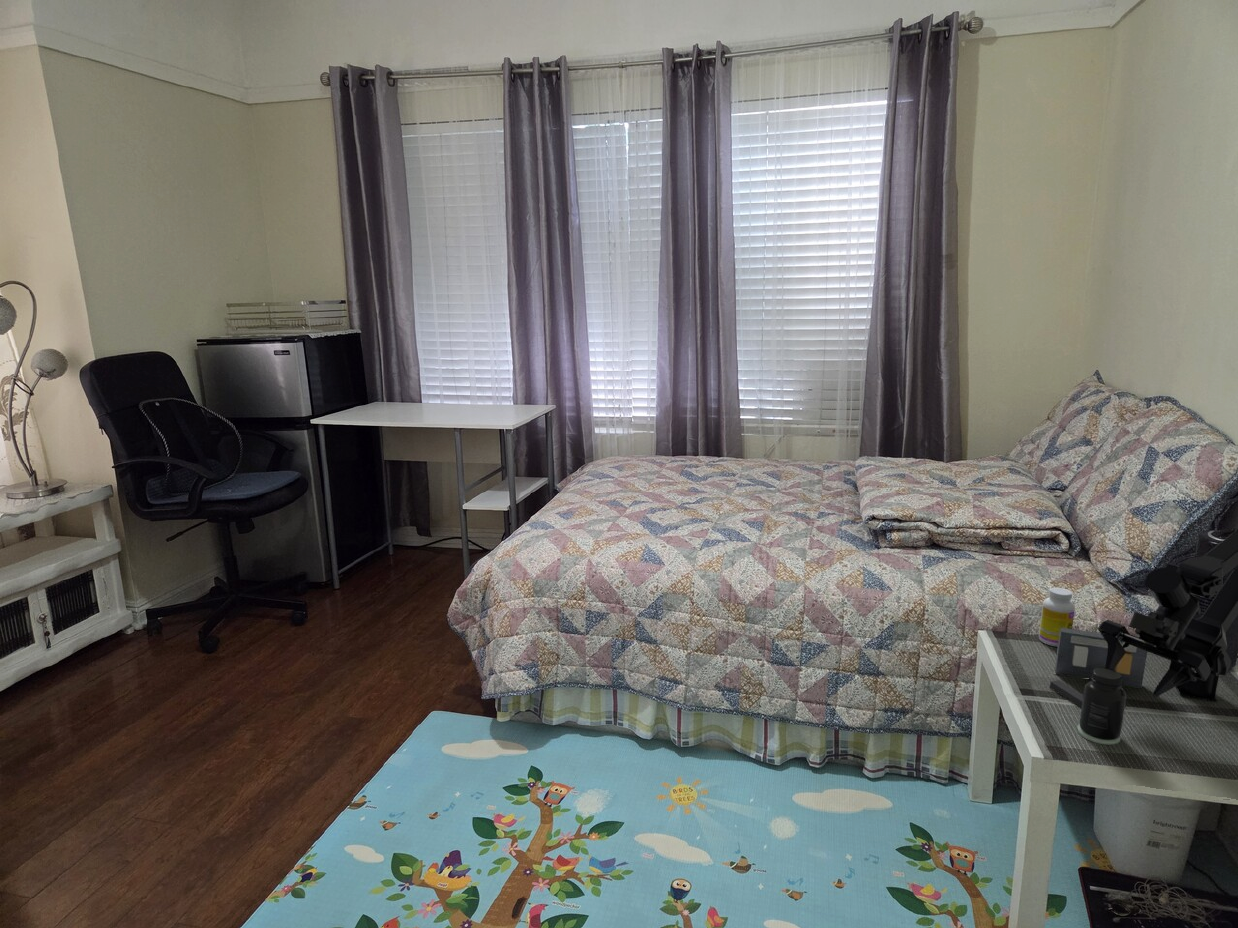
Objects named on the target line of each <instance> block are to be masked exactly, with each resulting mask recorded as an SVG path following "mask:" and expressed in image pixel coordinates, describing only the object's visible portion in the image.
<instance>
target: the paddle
mask: <svg viewBox="0 0 1238 928" xmlns="http://www.w3.org/2000/svg"><path fill="white" fill-rule="evenodd" d="M1087 656H1088V647H1082V646H1076V645H1075V647H1074V654H1073V662H1072V663H1073V665H1074V666H1080V667H1086V663H1087Z"/></svg>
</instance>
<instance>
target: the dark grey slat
mask: <svg viewBox="0 0 1238 928" xmlns="http://www.w3.org/2000/svg"><path fill="white" fill-rule="evenodd" d="M1049 683H1050V684H1049V688H1050V689H1051V688H1052V689H1051V690H1053V689H1054V690H1055V692H1056V691H1057V692H1059V693H1060V694H1062V695H1063V696H1062V695H1061V696H1062V697H1064V698H1065V697H1066V698H1065V699H1067V698H1068V699H1069V700H1068V699H1067V700H1068V701H1070V702H1071V701H1072V703H1073V704H1074V703H1075V704H1074V705H1076V706H1077V707H1079V708H1082V701H1083V694H1082V693H1080V691H1078V690H1076V689H1074V688H1073V687H1071V686H1069V685H1068V684H1066V683H1065V682H1063V681H1061V680H1050V682H1049ZM1054 690H1053V691H1054ZM1057 692H1056V693H1057ZM1059 693H1058V694H1059ZM1060 694H1059V695H1060Z"/></svg>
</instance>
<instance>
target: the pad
mask: <svg viewBox="0 0 1238 928" xmlns="http://www.w3.org/2000/svg"><path fill="white" fill-rule="evenodd" d="M1077 732H1078V734H1079V735H1080V736H1081V737H1082V738H1084V739H1086V740H1088V741H1090V742H1091V743H1092V742H1093V743H1096V744H1098V745H1105V746H1113V745H1117V744H1119V743H1120V742H1121V737H1122V736H1121V735H1120V737H1119V738H1117V739H1115V740H1102V739H1098V738H1095V737H1092V736H1090V735H1088V734H1086V733H1085V732H1084V731H1083V730H1082V729H1081V728H1080V723H1079V724H1078V725H1077Z"/></svg>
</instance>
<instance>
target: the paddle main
mask: <svg viewBox="0 0 1238 928" xmlns="http://www.w3.org/2000/svg"><path fill="white" fill-rule="evenodd" d="M1131 663H1132V655H1131V654H1127V653H1125V655H1124V656H1123V657H1122V659H1121V660H1120V662H1119V663H1118V664H1117V666H1116V668H1115V670H1116V672H1118V673H1123V674H1129V675H1130V669H1131Z"/></svg>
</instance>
